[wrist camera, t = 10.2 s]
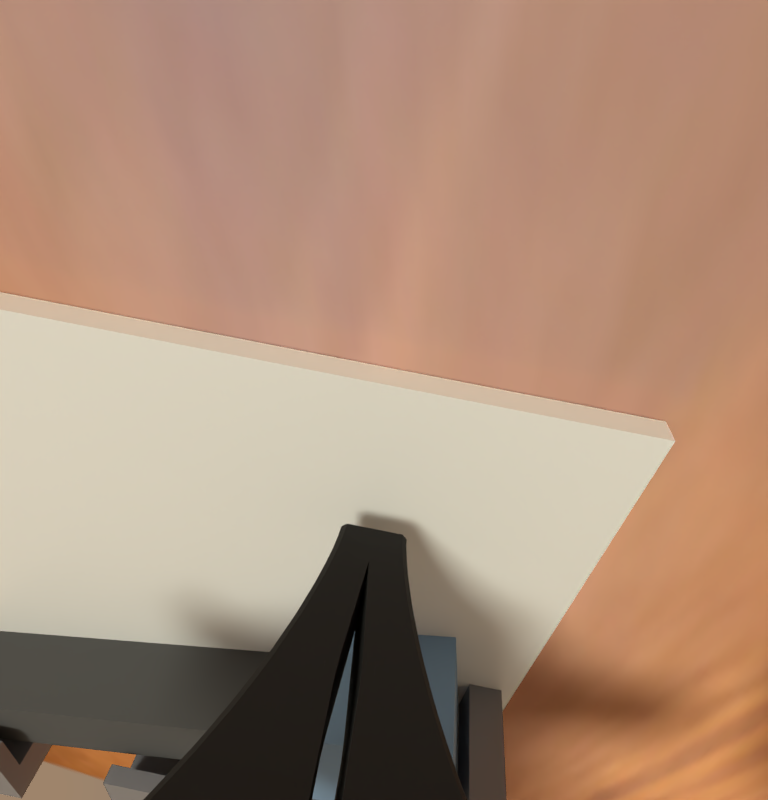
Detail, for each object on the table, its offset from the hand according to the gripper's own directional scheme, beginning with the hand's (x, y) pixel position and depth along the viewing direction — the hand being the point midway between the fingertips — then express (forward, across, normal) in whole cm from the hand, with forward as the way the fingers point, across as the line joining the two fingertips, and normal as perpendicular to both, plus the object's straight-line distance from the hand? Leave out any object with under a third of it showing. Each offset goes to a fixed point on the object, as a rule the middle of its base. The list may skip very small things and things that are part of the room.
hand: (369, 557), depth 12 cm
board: (+2, +4, +6) cm, 8 cm away
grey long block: (+1, +5, +8) cm, 9 cm away
